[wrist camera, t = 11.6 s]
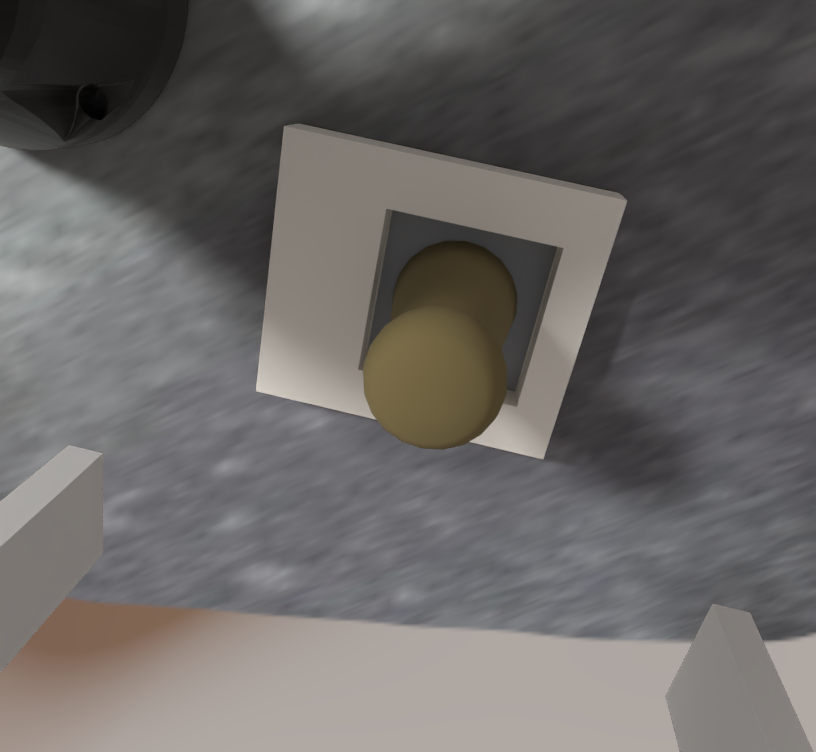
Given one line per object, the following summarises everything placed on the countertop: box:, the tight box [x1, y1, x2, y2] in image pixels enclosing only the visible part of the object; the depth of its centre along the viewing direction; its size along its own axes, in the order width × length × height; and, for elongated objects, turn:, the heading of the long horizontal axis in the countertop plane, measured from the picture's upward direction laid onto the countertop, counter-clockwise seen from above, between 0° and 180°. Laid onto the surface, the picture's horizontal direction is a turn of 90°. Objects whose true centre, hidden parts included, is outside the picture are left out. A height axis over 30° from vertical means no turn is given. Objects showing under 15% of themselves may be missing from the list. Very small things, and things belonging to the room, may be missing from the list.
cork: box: [363, 241, 517, 449], centre depth 27 cm, size 6×6×11 cm
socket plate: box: [256, 123, 627, 459], centre depth 32 cm, size 15×13×2 cm
